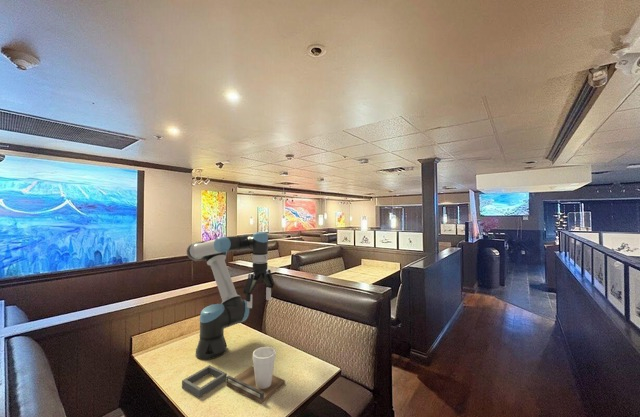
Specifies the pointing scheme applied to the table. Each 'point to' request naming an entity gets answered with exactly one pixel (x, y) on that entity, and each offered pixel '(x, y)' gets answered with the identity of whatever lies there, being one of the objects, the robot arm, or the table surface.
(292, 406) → the table surface
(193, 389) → the frame
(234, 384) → the shelf board
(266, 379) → the foam cup
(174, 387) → the table surface
